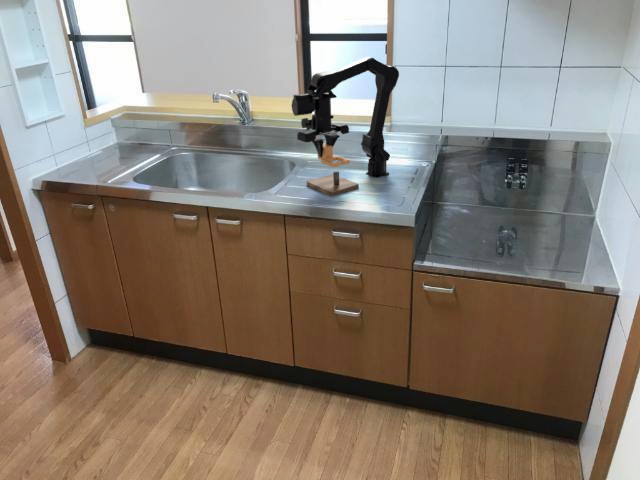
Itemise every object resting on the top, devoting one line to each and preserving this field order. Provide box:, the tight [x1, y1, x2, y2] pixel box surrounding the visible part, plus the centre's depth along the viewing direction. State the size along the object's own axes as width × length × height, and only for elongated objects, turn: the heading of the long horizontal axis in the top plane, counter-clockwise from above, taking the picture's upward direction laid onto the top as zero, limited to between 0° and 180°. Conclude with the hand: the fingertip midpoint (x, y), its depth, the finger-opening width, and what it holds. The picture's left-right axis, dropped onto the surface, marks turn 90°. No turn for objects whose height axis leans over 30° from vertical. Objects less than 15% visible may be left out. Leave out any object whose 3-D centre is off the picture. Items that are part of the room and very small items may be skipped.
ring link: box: [317, 143, 351, 168], centre depth 180 cm, size 12×7×5 cm, turn 36°
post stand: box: [306, 171, 360, 197], centre depth 184 cm, size 15×12×6 cm
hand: (324, 156), depth 184 cm, fingers closed on ring link, 3 cm apart
